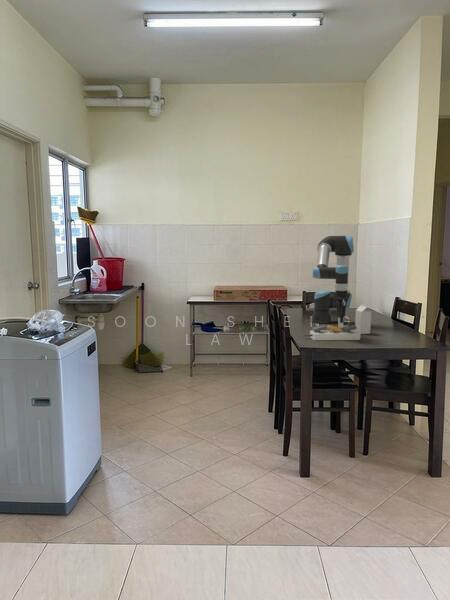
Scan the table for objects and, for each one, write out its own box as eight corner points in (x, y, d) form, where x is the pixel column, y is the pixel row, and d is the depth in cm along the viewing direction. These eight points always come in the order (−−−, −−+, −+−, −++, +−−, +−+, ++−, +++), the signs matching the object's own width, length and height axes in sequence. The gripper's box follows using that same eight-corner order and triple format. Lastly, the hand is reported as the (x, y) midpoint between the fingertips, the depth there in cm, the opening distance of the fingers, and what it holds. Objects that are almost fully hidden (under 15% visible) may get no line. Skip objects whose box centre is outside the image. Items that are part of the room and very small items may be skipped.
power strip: (302, 336, 276) (302, 329, 276) (354, 336, 279) (354, 328, 278) (306, 340, 266) (306, 332, 266) (360, 339, 269) (360, 332, 268)
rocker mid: (326, 327, 275) (327, 324, 275) (338, 330, 276) (339, 327, 276) (329, 328, 271) (329, 326, 271) (341, 331, 272) (341, 329, 271)
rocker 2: (342, 330, 276) (341, 327, 276) (354, 327, 277) (353, 324, 276) (344, 331, 272) (343, 329, 271) (356, 328, 272) (356, 325, 272)
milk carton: (360, 334, 284) (362, 305, 282) (354, 332, 291) (356, 304, 288) (370, 333, 286) (371, 305, 284) (364, 331, 293) (365, 303, 290)
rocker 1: (312, 330, 275) (312, 327, 275) (324, 327, 275) (324, 324, 275) (314, 332, 270) (314, 329, 270) (326, 329, 271) (326, 326, 270)
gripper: (332, 289, 276) (331, 325, 280) (339, 291, 263) (338, 329, 267) (343, 288, 277) (342, 325, 280) (351, 291, 264) (350, 329, 267)
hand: (340, 327), depth 273 cm, fingers closed
